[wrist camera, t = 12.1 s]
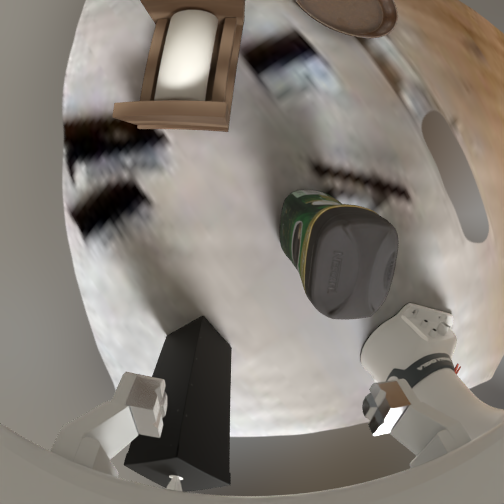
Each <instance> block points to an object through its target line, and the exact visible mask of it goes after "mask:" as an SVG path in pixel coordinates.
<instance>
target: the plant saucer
mask: <svg viewBox="0 0 504 504" xmlns="http://www.w3.org/2000/svg"><path fill="white" fill-rule="evenodd" d="M295 1H296V2H297V3H298V5H299V6H300V7H301V8H302V9H303V10H304V11H305V12H306V13H307V14H308V15H309V16H311V17H312V18H313V19H315V20H316V21H318V22H319V23H321V24H323V25H324V26H326V27H328V28H330V29H333V30H335V31H338V32H340V33H343V34H347V35H350V36H355V37H361V38H378V37H382V36H385V35H387V34H389V33H390V32H391V31H392V30H393V29H394V28H395V26H396V24H397V19H398V14H397V8H396V5H395V3H394V1H393V0H295Z"/></svg>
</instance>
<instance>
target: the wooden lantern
mask: <svg viewBox="0 0 504 504" xmlns="http://www.w3.org/2000/svg"><path fill="white" fill-rule="evenodd" d="M140 1H141V3H142V4H143V6H144V7H145V9H146V10H147V12H148V13H149V15H150V16H151V18H152V19H153V21H154V22H155V24H156V27H155V31H154V34H153V38H152V42H151V46H150V51H149V55H148V60H147V64H146V69H145V74H144V80H143V85H142V91H141V97H140V101H137V102H122V103H115V104H114V110H113V118H117V119H120V120H123V121H126V122H129V123H133V124H136V125H138V127H137V128H139V129H189V130H209V131H223V132H228V129H229V121H230V113H231V105H232V97H233V90H234V83H235V76H236V69H237V62H238V55H239V49H240V42H241V36H242V30H243V24H244V17H245V15H244V11H245V0H140ZM184 10H202V11H206V12H209V13H211V14H213V15H215V16H216V17H217V19H218V25H217V31H216V36H215V41H214V47H213V52H212V58H211V64H210V71H209V77H208V84H207V90H206V98H205V101H180V100H168V101H154V98H155V92H156V86H157V80H158V74H159V69H160V64H161V59H162V54H163V50H164V45H165V41H166V36H167V32H168V28H169V24H170V20H171V17H172V16H173V15H174V14H175V13H177V12H180V11H184Z"/></svg>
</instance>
